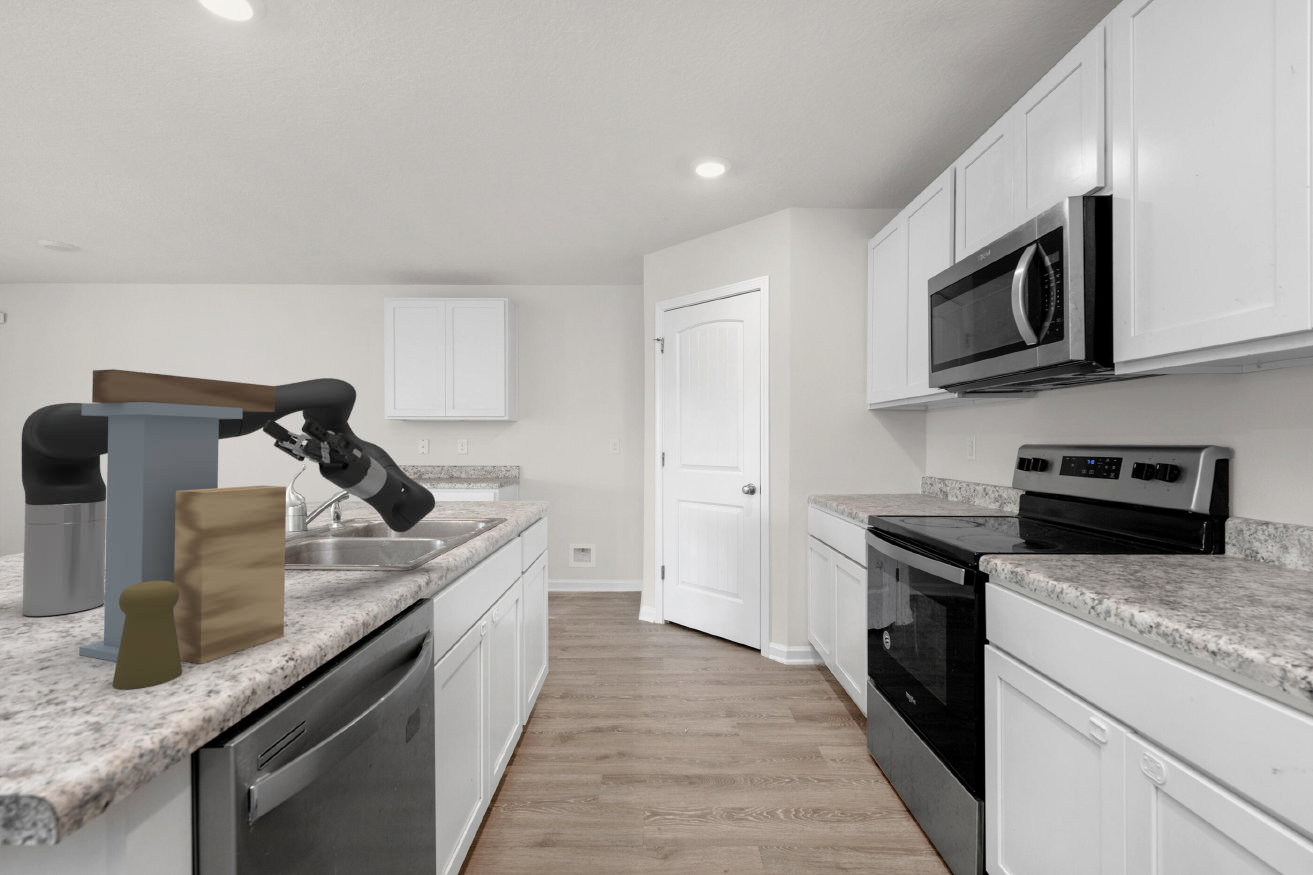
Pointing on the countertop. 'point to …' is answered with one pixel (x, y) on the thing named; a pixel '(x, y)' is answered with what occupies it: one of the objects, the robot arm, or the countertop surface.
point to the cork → (148, 636)
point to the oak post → (229, 569)
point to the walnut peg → (179, 390)
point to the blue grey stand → (149, 493)
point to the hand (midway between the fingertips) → (285, 424)
